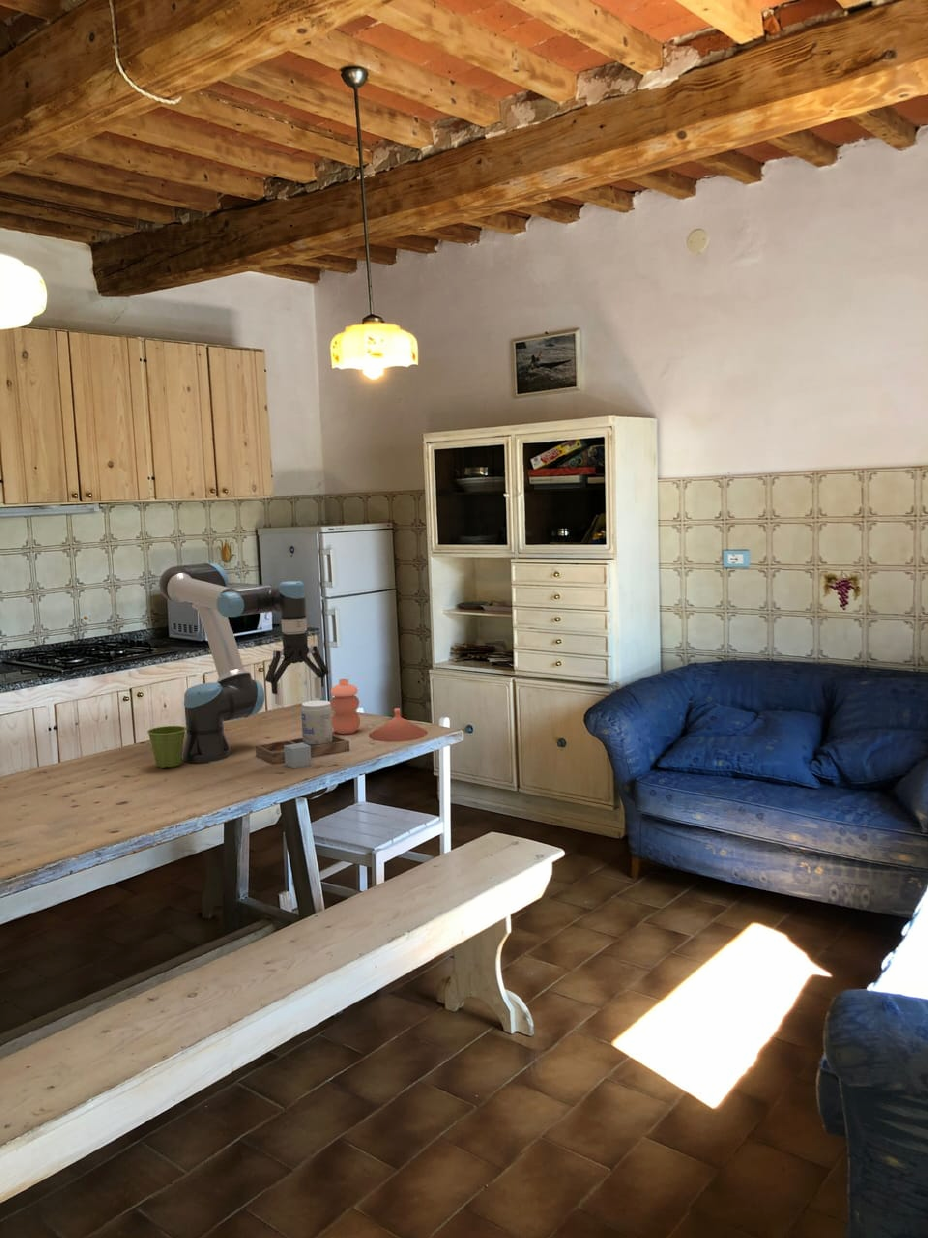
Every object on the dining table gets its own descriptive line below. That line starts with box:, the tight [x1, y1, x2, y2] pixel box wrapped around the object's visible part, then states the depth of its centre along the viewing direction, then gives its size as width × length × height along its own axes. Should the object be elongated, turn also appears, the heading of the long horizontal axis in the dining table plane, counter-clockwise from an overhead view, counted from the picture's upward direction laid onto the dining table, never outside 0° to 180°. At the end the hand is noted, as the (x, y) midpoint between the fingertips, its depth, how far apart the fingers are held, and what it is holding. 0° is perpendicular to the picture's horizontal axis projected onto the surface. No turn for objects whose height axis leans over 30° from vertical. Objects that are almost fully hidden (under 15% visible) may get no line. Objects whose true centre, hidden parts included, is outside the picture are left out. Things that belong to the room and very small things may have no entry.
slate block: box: [284, 743, 313, 769], centre depth 306 cm, size 6×6×6 cm
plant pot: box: [146, 725, 186, 769], centre depth 310 cm, size 12×12×11 cm
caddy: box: [255, 733, 350, 765], centre depth 320 cm, size 26×14×3 cm, turn 123°
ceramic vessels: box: [329, 678, 429, 743], centre depth 343 cm, size 35×21×19 cm, turn 72°
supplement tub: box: [300, 700, 333, 746], centre depth 323 cm, size 10×10×15 cm
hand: (298, 701), depth 307 cm, fingers open, 13 cm apart
